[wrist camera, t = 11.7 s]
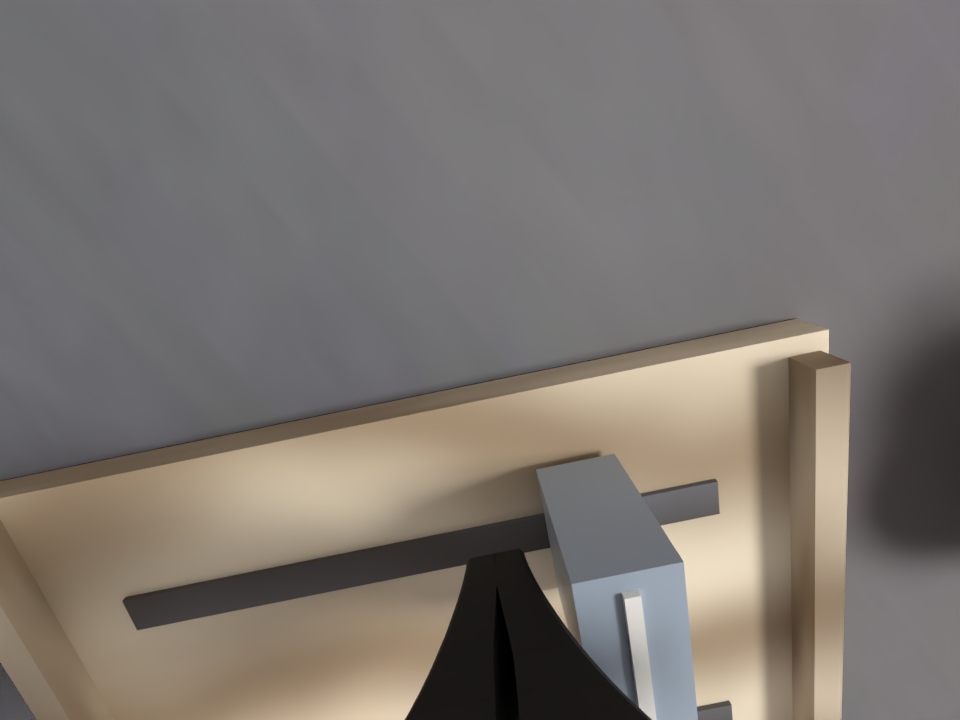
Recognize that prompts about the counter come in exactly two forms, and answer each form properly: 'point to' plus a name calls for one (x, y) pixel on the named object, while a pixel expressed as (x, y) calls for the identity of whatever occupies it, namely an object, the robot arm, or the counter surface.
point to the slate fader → (620, 584)
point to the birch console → (435, 539)
